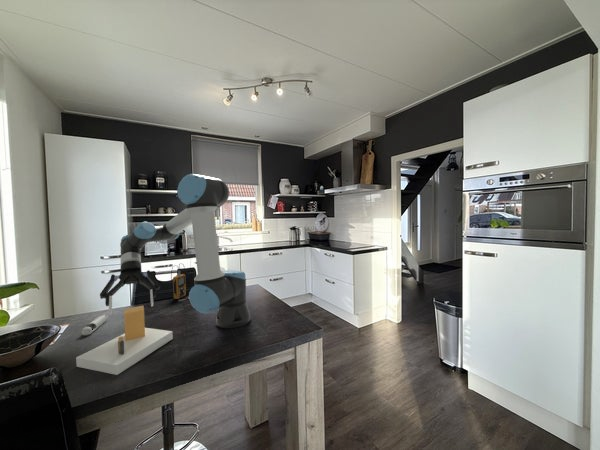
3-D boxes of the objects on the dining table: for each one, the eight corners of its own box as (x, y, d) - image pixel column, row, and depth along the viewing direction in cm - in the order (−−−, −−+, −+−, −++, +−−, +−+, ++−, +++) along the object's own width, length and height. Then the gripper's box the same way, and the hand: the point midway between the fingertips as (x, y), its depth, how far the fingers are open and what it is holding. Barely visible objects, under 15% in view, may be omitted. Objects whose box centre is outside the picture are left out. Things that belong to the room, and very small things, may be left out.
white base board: (172, 338, 94) (172, 317, 94) (117, 374, 73) (115, 347, 73) (138, 333, 99) (137, 313, 98) (76, 366, 77) (75, 340, 77)
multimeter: (184, 302, 134) (183, 267, 134) (168, 301, 136) (167, 266, 136) (200, 294, 149) (199, 262, 148) (186, 293, 151) (185, 261, 150)
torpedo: (92, 336, 98) (91, 320, 97) (78, 338, 96) (77, 322, 96) (112, 318, 115) (111, 305, 115) (100, 319, 113) (99, 306, 113)
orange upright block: (144, 330, 95) (143, 305, 95) (145, 336, 90) (144, 310, 90) (125, 334, 92) (124, 308, 92) (125, 341, 87) (124, 314, 87)
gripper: (162, 266, 116) (167, 306, 104) (95, 273, 102) (91, 320, 90) (163, 256, 111) (168, 297, 100) (93, 263, 97) (89, 311, 85)
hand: (132, 308), depth 95 cm, fingers open, 13 cm apart
